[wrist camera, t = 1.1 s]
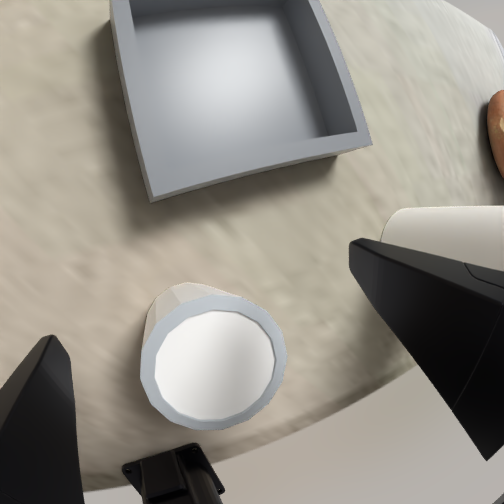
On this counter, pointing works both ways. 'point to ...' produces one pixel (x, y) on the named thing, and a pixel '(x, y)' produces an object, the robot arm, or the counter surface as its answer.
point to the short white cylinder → (210, 357)
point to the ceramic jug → (497, 128)
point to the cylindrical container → (451, 233)
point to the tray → (231, 89)
